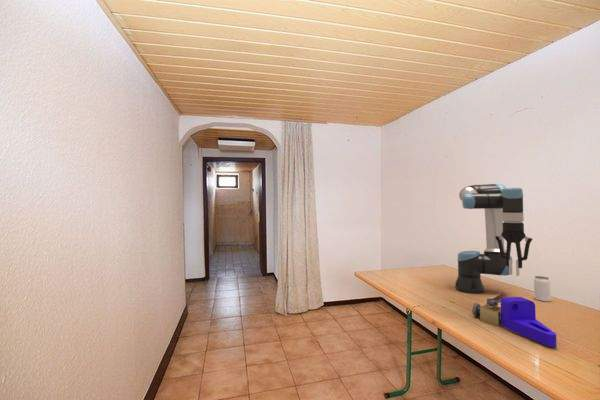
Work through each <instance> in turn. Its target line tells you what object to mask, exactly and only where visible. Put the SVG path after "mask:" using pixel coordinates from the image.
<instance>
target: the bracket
mask: <svg viewBox="0 0 600 400" xmlns="http://www.w3.org/2000/svg"><path fill="white" fill-rule="evenodd" d="M500 307H501V325H500V326H502V327H503V328H505V329H507V330H509V331H512V332H514V333H516V334H518V335H520V336H522V337H525V338H528V339H529V340H533V341H535V342H537V343H539V344H541V345H543V346H547V347H551V348H557V333H556V332H555V331H553V330H551V328H550V327H548V326H546V325H545V324H543V323H542V322H541V321H539V320H538V319H537V316H536V313H537V312H536V304H535V302H534V301H533V300H530V299H528V298H525V297H523V296H507V297H504V298H502V300H501V302H500Z"/></svg>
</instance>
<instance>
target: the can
mask: <svg viewBox="0 0 600 400" xmlns="http://www.w3.org/2000/svg"><path fill="white" fill-rule="evenodd" d="M533 284H534V285H533V290H534V291H533V292H534V299H535V300H536V301H539V302H544V301H545V302H547V303H548V301H549V302H551V280H550V278H549V277H547V276H543V275H542V276H540V275H535V276H534V279H533ZM545 302H544V303H545Z"/></svg>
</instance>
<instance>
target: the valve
mask: <svg viewBox="0 0 600 400" xmlns="http://www.w3.org/2000/svg"><path fill="white" fill-rule="evenodd" d="M471 309H472V310H471V311H472V312H471V313H472V315H473V317H476V318H479V317H480V319H479V320H480V321H481V322H483V323H486V324H490V325H493V326H496V327H500V326H502V325H501V306H491V305H488V304H487V303H486V304H484V305H482V306H481V304H480V303H477V302H475V303H474V304H473V305H472V308H471Z"/></svg>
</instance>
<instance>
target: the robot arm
mask: <svg viewBox="0 0 600 400" xmlns="http://www.w3.org/2000/svg"><path fill="white" fill-rule="evenodd" d="M523 192H524V191H523V189H522V188H521V187H506V186H505V185H504V184H502V183H490V184H489V183H487V184H472V185H469V186H466V187H463V188H462V189H461V190H460V191H459V195H458V196H459V199H460V201H461V202H462V203H461V204H462V207H463V209H465V210H467V209H469V210H473V209H474V210H475V209H476V210H478V209H479V210H480V209H481V210H482V209H483V210H484V223H485V239H486V242H485V243H486V244H485V245H486V248H485V249H484V250H483V253H481V252H480V250H465V251H460V252H458V254H457V278H456V281H455V284H454V289H455V288H456V289H455V290H457V291H459V292H462V293H467V294H473V295H474V294H476V295H478V294H479V295H480V294H484V293H485V286H484V284H483V283H484V282H483V281H482V277H481V274H482V275H491V276H492V275H493V276H512V275H513V257H512V256H511V251H512V243H514V244H515V248H516V255H517V256H516V257H517V260H515V276H517V277H519V276H520V269H522V268H523V261H527V259H528V257H529V251H530V246H531V243H532V241H533V237H529V236H527V235H526V233H525V224H524V223H523V222H524V219H525V216H524V193H523ZM523 240H524V241H525V246H524V251H523V254H522V248H521V242H522V241H523ZM505 241H506V249H505ZM522 255H523V256H522Z"/></svg>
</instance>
